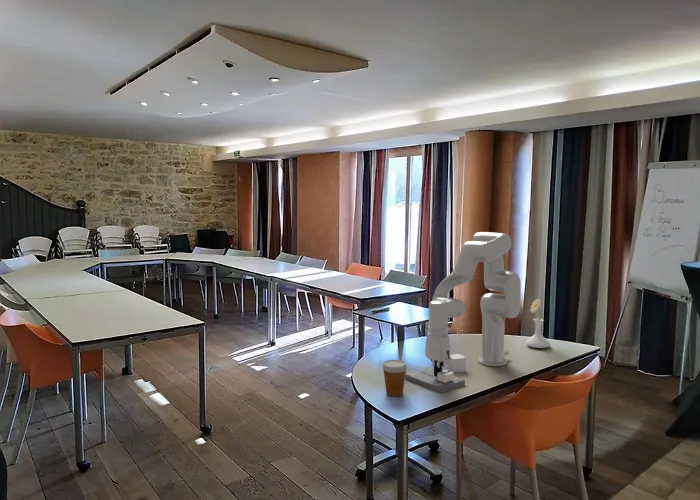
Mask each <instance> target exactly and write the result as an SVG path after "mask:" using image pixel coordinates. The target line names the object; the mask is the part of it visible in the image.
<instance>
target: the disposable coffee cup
mask: <svg viewBox="0 0 700 500" xmlns="http://www.w3.org/2000/svg"><path fill="white" fill-rule="evenodd" d="M381 368H382V370H383V375H384V378H383V379H384V385H385V392H386V395H387V396H389V397H396V398H397V397H400V396H401V397H402V395H403V394H404V387H405V386H404V385H405V380H406V379H405V374H406V370H407V368H408V365H407V363H406V361H403V360H400V359H389V360H385V361H383V362H382V366H381Z"/></svg>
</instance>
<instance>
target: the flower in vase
mask: <svg viewBox="0 0 700 500" xmlns="http://www.w3.org/2000/svg"><path fill="white" fill-rule="evenodd" d="M541 305H542V300H541V298H536V299H535V300H533V302H532V304H531V305H530V309H529V312H530V313H532V314H533V313H535V315H536V317H535V318H533V319H532V320H533V321H534V324H535V334H533V335H532V336H530V337H529V338H528V339H526V340H525V344H526V345H527V346H529V347H530V348H531V347H532V348H535V349H545V348H549V347H550V345H551V344H550V341H549V340H548V339H547V338H546V337H544V336H543V335H542V333H541V330H542V324H543V322H544V321H545V320H544V319H543V318H542V317H543V315H542V313H541V310H540V308H541ZM538 311H539V312H538Z"/></svg>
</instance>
